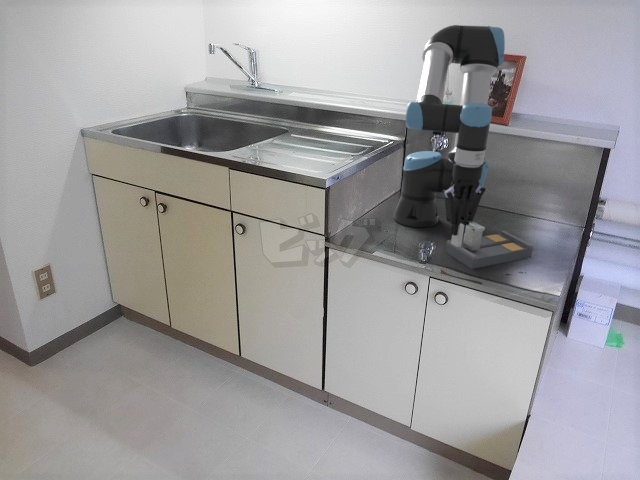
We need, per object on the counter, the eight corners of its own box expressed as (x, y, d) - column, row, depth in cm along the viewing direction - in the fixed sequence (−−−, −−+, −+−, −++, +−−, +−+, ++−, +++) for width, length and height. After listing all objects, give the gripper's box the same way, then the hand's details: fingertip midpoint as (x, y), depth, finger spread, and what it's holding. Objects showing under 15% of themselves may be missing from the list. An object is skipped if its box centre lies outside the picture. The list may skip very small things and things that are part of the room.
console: (445, 252, 154) (446, 240, 152) (502, 241, 162) (504, 230, 161) (471, 269, 144) (473, 256, 142) (530, 257, 152) (533, 245, 151)
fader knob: (460, 245, 150) (464, 222, 147) (470, 243, 151) (474, 221, 149) (471, 251, 146) (474, 228, 143) (481, 249, 148) (485, 227, 145)
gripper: (457, 169, 131) (445, 253, 140) (497, 165, 136) (483, 246, 145) (439, 162, 137) (429, 242, 147) (478, 158, 142) (465, 236, 152)
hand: (455, 244), depth 146 cm, fingers closed
